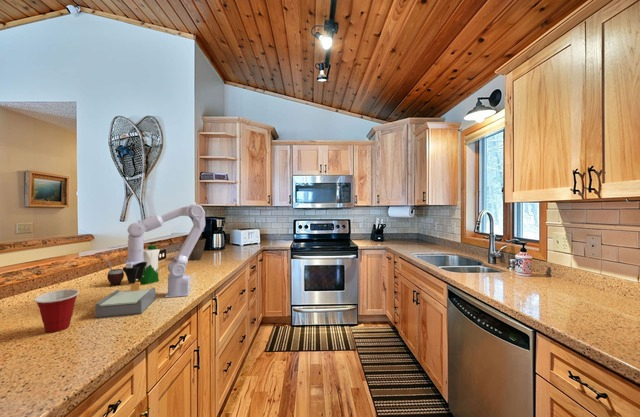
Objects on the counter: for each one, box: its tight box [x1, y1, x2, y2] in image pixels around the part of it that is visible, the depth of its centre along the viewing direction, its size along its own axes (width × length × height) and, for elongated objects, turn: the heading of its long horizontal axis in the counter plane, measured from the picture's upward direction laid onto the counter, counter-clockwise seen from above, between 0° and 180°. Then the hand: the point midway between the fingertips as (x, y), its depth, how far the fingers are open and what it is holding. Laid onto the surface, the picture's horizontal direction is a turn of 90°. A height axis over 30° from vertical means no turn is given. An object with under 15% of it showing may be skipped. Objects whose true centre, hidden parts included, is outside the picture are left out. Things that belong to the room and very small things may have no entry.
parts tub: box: [94, 287, 156, 319], centre depth 108 cm, size 15×17×5 cm
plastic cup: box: [34, 288, 80, 334], centre depth 89 cm, size 11×11×12 cm
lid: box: [100, 281, 151, 306], centre depth 108 cm, size 12×17×4 cm
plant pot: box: [188, 238, 207, 261], centre depth 210 cm, size 15×15×16 cm
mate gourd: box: [102, 258, 125, 288], centre depth 139 cm, size 8×8×15 cm
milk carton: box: [137, 244, 161, 285], centre depth 146 cm, size 9×9×20 cm
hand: (135, 281), depth 115 cm, fingers open, 7 cm apart
